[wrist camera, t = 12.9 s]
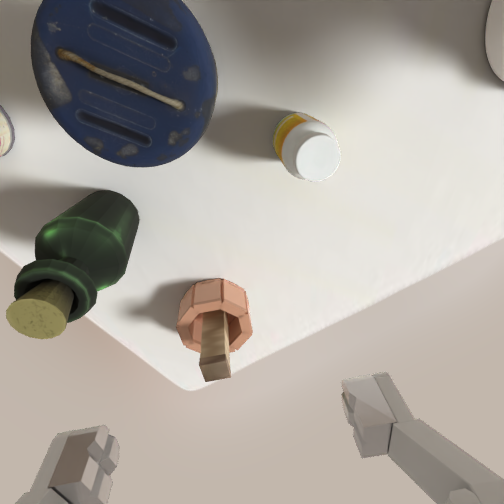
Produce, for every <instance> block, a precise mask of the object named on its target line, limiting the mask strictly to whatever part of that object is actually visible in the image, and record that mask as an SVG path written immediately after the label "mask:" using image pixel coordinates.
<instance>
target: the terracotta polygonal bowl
mask: <svg viewBox="0 0 504 504" xmlns="http://www.w3.org/2000/svg"><path fill="white" fill-rule="evenodd" d="M219 309H221V310H223V311H225V312H227V314H228V334H229V353H230V352H235V349H236V350H238V349H239V348H240V347H241V346H242V345H243V344H244V343H245V342H246V341H247V340H248V339H249V337H250V336H251V335H252V333H253V331H252V325H251V317H250V310H249V303H248V298H247V295H246V291H244V289H243V288H241V287H239V286H238V285H236V284H234V283H232V282H230V281H227V280H225V279H223V280H221V279H220V278H219V279H211V280H206V281H202V282H197V283H196V284H195V285H192V286H191V288H190V289H189V290H188V291H187V292H186V293H185V295H184V297H183V298H182V300H181V302H180V309H179V315H178V321H177V326H176V328H177V330H178V333H179V335H180V338H181V340H182V343H183V345H186V348H189V349H191V350H194V351H196V352H199V353H201V337H202V320H203V312H208V311H214V310H219Z"/></svg>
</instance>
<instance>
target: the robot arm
mask: <svg viewBox="0 0 504 504" xmlns="http://www.w3.org/2000/svg"><path fill="white" fill-rule="evenodd" d="M485 45H486V53H487V57H488V61H489V63H490V66H491V68H492V69H493V71H494V73H495V74H496V75H497V76H498V77H499V78H500V79H501V80H502V81H504V0H492V2H491V5H490V9H489V13H488V17H487V23H486V32H485ZM342 388H343V391H344V392H343V393H342V403H343V408H344V411H345V415H346V418H347V420H348V423H349V424H350V425H352V426H353V427H354V436H353V437H354V439H355V442H356V445H357V447H358V450H359V452H360V455H361V457H362V458H366V457H372V456H379V455H385V454H388V456H389V457H390V458H391V459H392V460H393V461H394V462H395V463H396V464H397V465H398V466H399V467H400V468H401V469H402V470H403V471H404V472H405V473H406V474H407V475H408V476H409V477H410V478H411V479H412V480H413V481H415V483H416V484H417V485H418V486H419V487H420V488H421V489H422V490H423V491H424V492H425V493H426V494H427V495H428V496H429V497H430V498H431V499H433V501H435V502H436V503H437V504H504V479H503V478H501V477H500V476H498V475H497V474H496V473H494V472H493V471H491V470H490V469H489V468H487V467H486V466H485V465H483V464H482V463H480V462H479V461H478V460H476V459H475V458H473V457H472V456H471V455H469V454H468V453H467V452H465V451H464V450H462V449H461V448H459V447H458V446H457V445H455V444H454V443H453V442H451V441H450V440H448V439H447V438H446V437H444V436H443V435H442V434H440V433H439V432H437V431H436V430H435V429H433V428H432V427H430V426H429V425H427V424H426V423H425V422H424V421H422V420H421V419H415V418H414V417H413V415H412V413H411V411H410V410H409V408H408V406H407V404H406V403H405V401H404V399H403V397H402V396H401V394H400V392H399V390H398V389H397V387H396V385H395V383H394V382H393V380H392V379H391V376H390V375H389V374H388V373H387V372H380V373H375V374H369V375H364V376H359V377H354V378H349V379H345V380H342ZM108 433H109V429H108V428H107V426H106V425H102V426H97V427H91V428H85V429H80V430H73V431H68V432H63V433H58V434H57V435H56V436H55V438H54V439H53V441H52V443H51V445H50V447H49V449H48V452H47V454H46V456H45V458H44V461H43V463H42V465H41V467H40V470H39V472H38V474H37V476H36V479H35V481H34V483H33V485H32V487H31V489H30V492H27V493H24V495H22V497H21V498H20V499H19V500H18V501H17V502H16V503H15V504H107V502H108V499H109V495H110V491H111V487H112V483H113V482H112V479H111V476H110V474H111V473H112V472H113V471H114V469H115V468H116V467H117V462H118V459H119V444H118V441H117V439H116V438H115V437H114V436H111V435H109V434H108Z"/></svg>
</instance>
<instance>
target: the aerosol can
mask: <svg viewBox="0 0 504 504" xmlns="http://www.w3.org/2000/svg"><path fill="white" fill-rule="evenodd" d="M14 140H15V136H14V128H13V125H12V123H11V120H10V118H9V116H8V115H7V113H6V112H5V111H4V109H3V108H2V106H1V105H0V157H1V156H4V155H6V154H7V153H8V152H9V151H10V150H11V149H12V147H13V143H14Z"/></svg>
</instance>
